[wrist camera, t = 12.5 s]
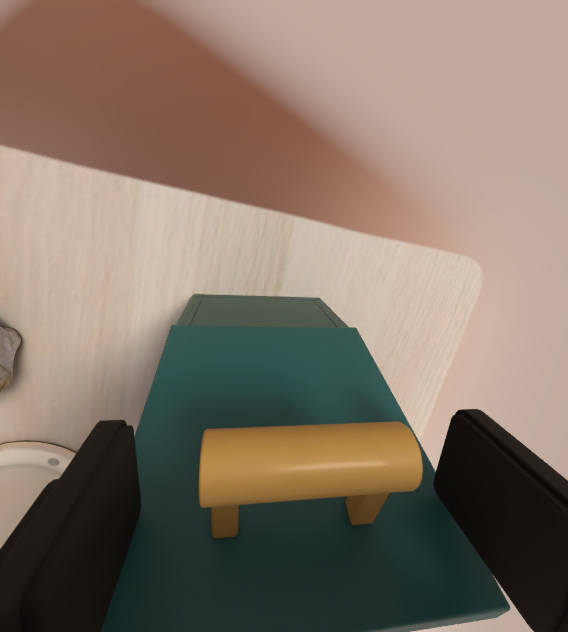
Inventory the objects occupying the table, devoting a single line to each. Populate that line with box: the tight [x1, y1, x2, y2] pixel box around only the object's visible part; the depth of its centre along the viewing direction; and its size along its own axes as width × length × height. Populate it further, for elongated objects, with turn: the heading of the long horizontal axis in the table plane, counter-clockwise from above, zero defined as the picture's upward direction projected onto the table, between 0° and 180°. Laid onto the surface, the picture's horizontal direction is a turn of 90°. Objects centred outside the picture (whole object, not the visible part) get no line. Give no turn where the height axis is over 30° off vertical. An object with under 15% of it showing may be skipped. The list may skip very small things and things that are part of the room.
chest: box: [176, 294, 349, 328], centre depth 23 cm, size 12×11×8 cm
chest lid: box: [101, 325, 510, 632], centre depth 11 cm, size 12×11×5 cm
